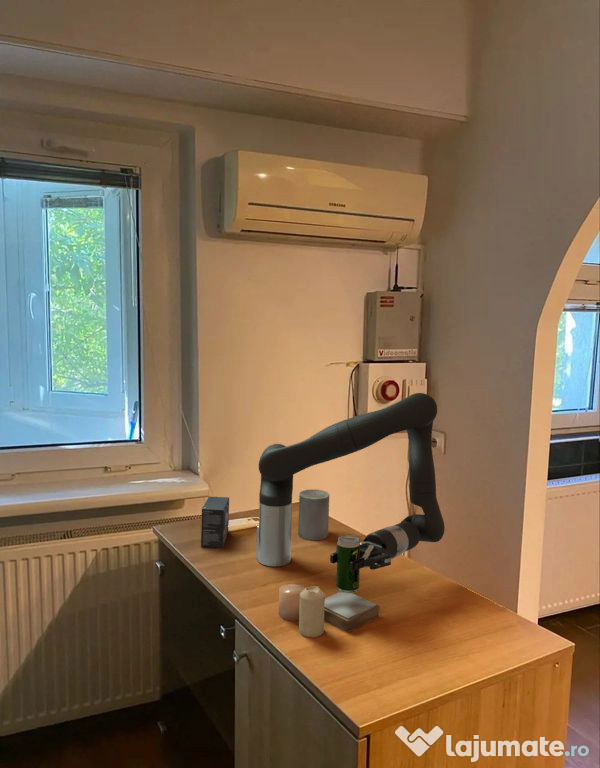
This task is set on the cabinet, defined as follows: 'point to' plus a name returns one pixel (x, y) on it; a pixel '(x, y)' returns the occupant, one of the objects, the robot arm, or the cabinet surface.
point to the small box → (215, 522)
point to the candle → (311, 612)
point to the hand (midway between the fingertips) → (341, 562)
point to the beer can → (347, 564)
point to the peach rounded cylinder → (289, 601)
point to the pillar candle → (313, 514)
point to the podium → (349, 611)
